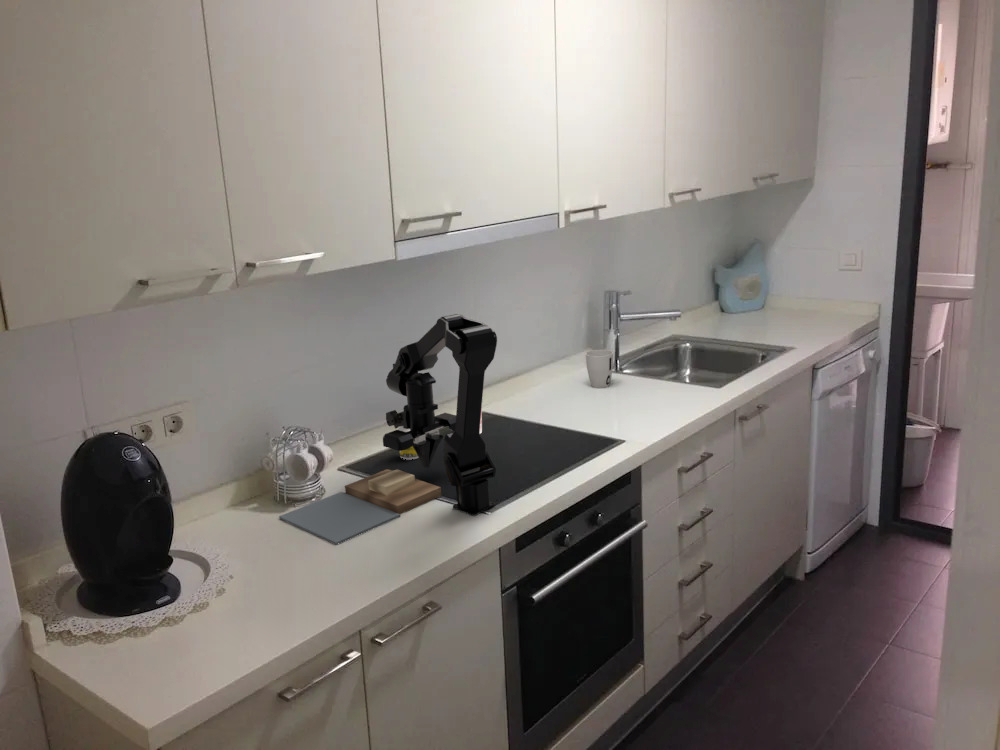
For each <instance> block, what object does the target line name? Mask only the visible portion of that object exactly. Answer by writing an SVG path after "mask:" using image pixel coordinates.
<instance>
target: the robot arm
mask: <svg viewBox="0 0 1000 750" xmlns="http://www.w3.org/2000/svg"><path fill="white" fill-rule="evenodd" d="M497 345H498V336H497V334H496V331H495V329H492V328H491V327H490V326H489V325H488V324H486V323H484V322H481V321H478V320H474V319H471V318H467V317H465V316H464V315H462V314H458V313H454V314H449V315H443V316H441V317H439V318H438V319H437V320H436V322H435V324H434V325H433V326H432V327H430V328H429V330H428V331H427V332H426V333H425V334H424V335H422V337H421V338H419V339H418V341H416V342H412V343H410V344H407V345H404V346H403V347H402V346H401V348H399V350H398V355H397V357H396V360H395V363H393V364H392V369H391V370H390V371H389V372H388V373H387V377H386V380H385V383H386V386H387V388H388V389H389V390H390V391H392V392H393V393H396V394H399V395H401V396H403V397H406V401H407V403H406V404H405V405H404V406H403V408H402V410H403V411H400V412H397V410H396V409H394V410H391V411H387V412H386V413H385V422H386V424H387V426H388V427H392V426H393V427H394V429H395V430H392V431H390V432H387V433H385V434H384V435H383V437H382V444H383V445H382V446H383V447H385V448H387V449H391V450H394V451H397V452H399V451H403V450H405V449H408V448H411V447H413V448H414V449H415V451H416V453H417V455H418V457H419V458H418V459H419V461H420V462H421V465H422V467H423V468H424V469H428V468H430V466H431V464H432V460H433V458H434V456H435V454H436V450H437V449H438V447H439V445H440V443H441V442H442V440H443V439H444V446H443V450H442V451H443V453H444V454H443V465H444V467H445V468H444V469H445V472H446V476H447V480H448V482H449V483H450V485H451V486H452V487H455V491H456V502H457V503H455V504H453V505H452V509H453V510H456V511H460V512H463V513H465V514H468V515H470V516H475V515H476V516H477V515H478V514H480V513H482V511H483V512H484V510H485V511H487V510H489V509H491V508H493V507H495V506H496V503H495V502H493V501H490V493H489V479H493V478H495V477H496V473H497V469H496V466H495V465H494V463H493V461H492V459H491V457H490V455H489V453H488V451H487V444H486V442H485V440H484V439H483V437H482V435H481V434H480V420H481V409H483V408H482V407H483V402H482V401H483V400H482V399H483V395H484V394H483V393H484V385H485V384H484V383H485V373H486V370H487V368H489V366H490V365H491V363H492V361H493V360H494V358H495V355H496V354H495V353H496V350H497ZM444 348H447V349H449V350H450V351H451V353H452V358H453V359H454V361H455V362H456V364H457V366H458V370H459V372H458V387H457V401H456V414H452V413H448V412H443V413H440V414H438V415H435V413H436V412H435V410H436V411H437V410H438V409H439V407H438V404H437V403H434V402H435V401H434V394H433V384H436V383H437V380H436V379H435V377H434V376H432V374H431V373H430V371H428V372H427V371H426V370H431V369H433V368H434V366H435V365H436V364H437V362H438V360H439V358H438V354H439V353H440V352H441V351H442V350H443V349H444ZM422 371H426V372H424V373H423V372H422ZM400 426H403V428H405V429H408V428H409V429H410V431H408V432H404V431H400V430H398V428H399V427H400ZM447 427H448V429H449V430H450V431H452V432H451V433H447V434H445V435H442V434H440V431H439V430H441V429H443V428H447ZM474 469H475V470H474ZM465 472H466V473H465ZM488 508H489V509H488ZM486 509H487V510H486Z"/></svg>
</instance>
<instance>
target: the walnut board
mask: <svg viewBox="0 0 1000 750" xmlns="http://www.w3.org/2000/svg"><path fill="white" fill-rule="evenodd" d="M391 471H393V470H391V469H388V468H387V469H383V470H381V471H379V472H377V473H373V474H371V475H369V476H366V477H364V478H361V479H359V480H357V481H353V482H351V483H349V484H346V485H344V493H347V494H349V495H352V496H354V497H357V498H359V499H362V500H365V501H367V502H370V503H372V504H375V505H377V506H380V507H383V508H385V509H388V510H390V511H393V512H395V513H398V514H400V515H401V514H403V513H406V512H408V511H410V510H413V509H415V508H417V507H420V506H422V505H423V504H424V505H425V504H427V503H429V502H431V501H434V500H435V499H438V498H439V496H440V497H441V496H442V488H441V486H438V485H435V484H432V483H429V482H426V481H424V480H422V479H418V478H415V484H414V485H411V486H409V487H407V488H404V489H402V490H399V491H397V492H395V493H392V494H390V495H387V496H386V495H383V494H380V493H378V492H375V491H372V490H370V489H369V484H368V480H371V479H374V478H376V477H379V476H381V475H384V474H386V473H389V472H391ZM437 497H438V498H437Z"/></svg>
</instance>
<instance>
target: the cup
mask: <svg viewBox="0 0 1000 750" xmlns="http://www.w3.org/2000/svg"><path fill="white" fill-rule="evenodd" d="M585 363H586V370H587V371H586V372H587V374H588V378H589V382H590V385H591V387H592V388H595V389H604V388H608V387H610V383H611V379H612V375H613V368H614V351H612V350H610V349H609V350H608V349H592V350H588V351H587V352H585Z"/></svg>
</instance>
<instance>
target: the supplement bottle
mask: <svg viewBox="0 0 1000 750" xmlns="http://www.w3.org/2000/svg"><path fill="white" fill-rule="evenodd" d="M397 430H400V431H404V432H408V431H410V429H409V428H408V429H405V428H403V426H400V427H398V428H397ZM398 452H399V457H400V458H401V459H402V458H403V459H402V460H405V459H406V460H405V461H412V459H413V460H416V459H419V457H418V455H417V453H416V451H415V449H414V448H413V447H411V448H408V449H405V450H403V451H398Z"/></svg>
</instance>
